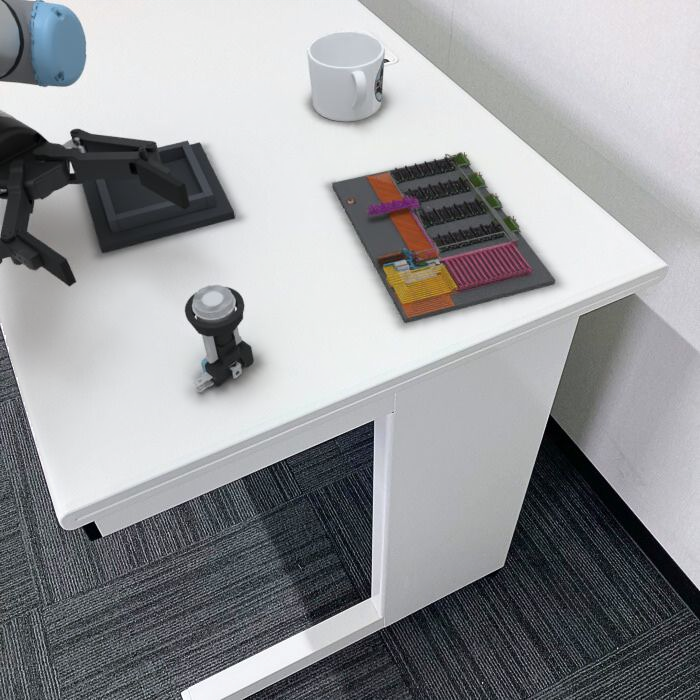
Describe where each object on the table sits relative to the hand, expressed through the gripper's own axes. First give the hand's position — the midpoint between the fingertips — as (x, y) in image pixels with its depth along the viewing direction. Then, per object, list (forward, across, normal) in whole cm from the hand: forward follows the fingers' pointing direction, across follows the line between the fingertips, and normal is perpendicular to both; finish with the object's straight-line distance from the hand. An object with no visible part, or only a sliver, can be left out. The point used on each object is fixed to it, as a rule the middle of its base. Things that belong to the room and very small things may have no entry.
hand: (129, 233), depth 68 cm
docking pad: (-18, -14, -13) cm, 26 cm away
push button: (+10, 0, -13) cm, 16 cm away
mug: (-12, -45, -13) cm, 48 cm away
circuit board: (+14, -31, -13) cm, 36 cm away
